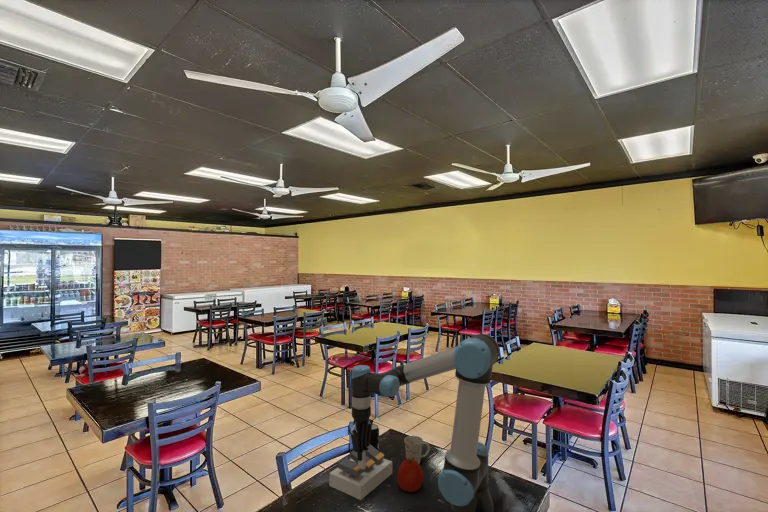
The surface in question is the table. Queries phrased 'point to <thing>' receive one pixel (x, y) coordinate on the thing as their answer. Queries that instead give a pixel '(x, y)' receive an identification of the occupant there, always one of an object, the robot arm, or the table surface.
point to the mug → (415, 448)
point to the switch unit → (360, 479)
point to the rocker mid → (369, 462)
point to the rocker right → (374, 454)
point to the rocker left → (350, 467)
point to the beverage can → (374, 436)
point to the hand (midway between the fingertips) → (361, 467)
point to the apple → (410, 475)
